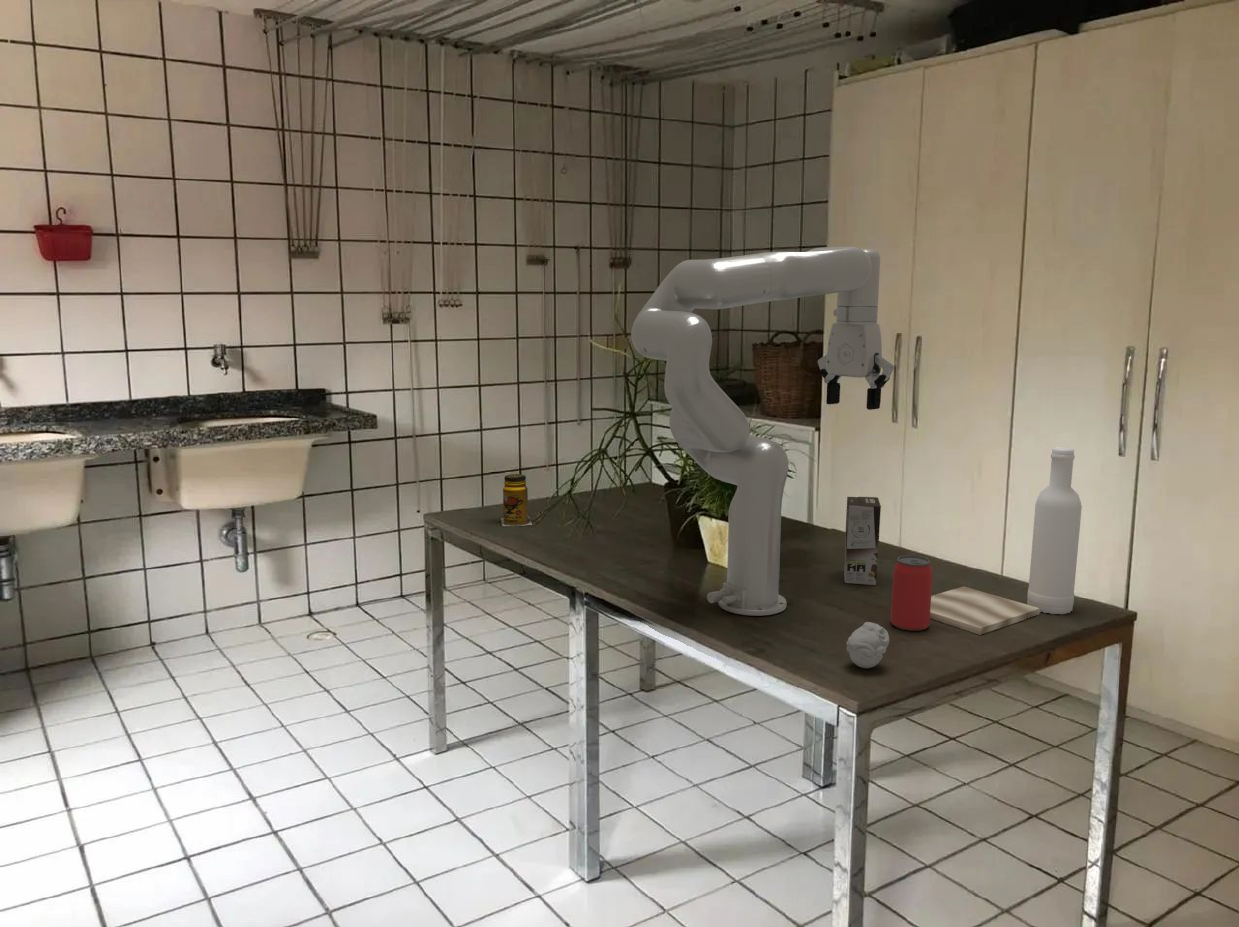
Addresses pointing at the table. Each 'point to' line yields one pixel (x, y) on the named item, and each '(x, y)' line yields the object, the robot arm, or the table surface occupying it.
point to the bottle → (1055, 539)
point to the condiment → (515, 501)
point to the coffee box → (862, 540)
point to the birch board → (978, 610)
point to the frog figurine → (868, 645)
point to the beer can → (911, 593)
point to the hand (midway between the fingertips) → (852, 406)
